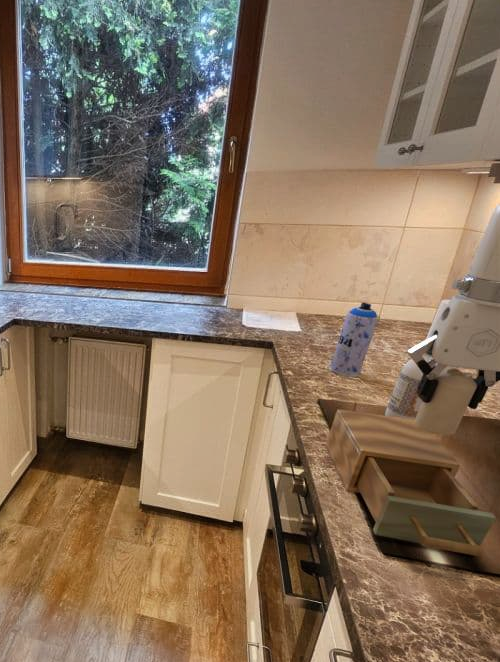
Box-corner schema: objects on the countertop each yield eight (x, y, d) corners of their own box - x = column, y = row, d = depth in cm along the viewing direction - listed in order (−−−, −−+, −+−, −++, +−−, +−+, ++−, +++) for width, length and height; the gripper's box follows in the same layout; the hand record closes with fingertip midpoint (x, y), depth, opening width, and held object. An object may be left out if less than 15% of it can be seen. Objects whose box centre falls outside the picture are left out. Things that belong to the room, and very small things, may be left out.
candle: (409, 416, 81) (431, 363, 77) (446, 422, 80) (471, 368, 75) (420, 432, 76) (445, 376, 72) (461, 438, 75) (488, 381, 70)
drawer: (497, 582, 66) (520, 545, 63) (388, 561, 69) (405, 525, 66) (432, 494, 84) (448, 462, 81) (348, 480, 87) (360, 449, 84)
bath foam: (401, 428, 107) (436, 345, 98) (376, 413, 113) (407, 334, 104) (426, 426, 108) (463, 344, 99) (400, 411, 114) (432, 333, 105)
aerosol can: (322, 367, 138) (343, 300, 129) (344, 365, 140) (366, 299, 131) (343, 377, 131) (367, 308, 123) (366, 375, 133) (391, 306, 124)
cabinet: (439, 506, 82) (460, 465, 78) (346, 490, 86) (361, 450, 82) (404, 457, 96) (420, 420, 92) (325, 445, 99) (337, 409, 95)
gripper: (436, 291, 67) (392, 404, 75) (586, 303, 62) (523, 421, 70) (416, 280, 73) (378, 385, 81) (551, 290, 69) (496, 400, 77)
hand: (445, 401), depth 76 cm, fingers closed on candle, 5 cm apart
